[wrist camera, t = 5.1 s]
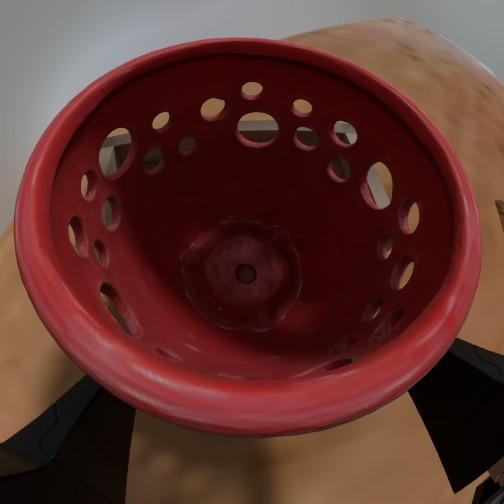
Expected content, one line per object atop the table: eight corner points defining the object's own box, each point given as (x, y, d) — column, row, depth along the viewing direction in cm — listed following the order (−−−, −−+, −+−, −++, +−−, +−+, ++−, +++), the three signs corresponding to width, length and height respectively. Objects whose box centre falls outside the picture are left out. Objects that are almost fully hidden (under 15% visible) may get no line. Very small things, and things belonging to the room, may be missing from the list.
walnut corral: (385, 253, 18) (402, 237, 15) (91, 278, 16) (73, 264, 13) (344, 144, 22) (352, 124, 20) (112, 158, 20) (103, 138, 18)
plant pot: (350, 383, 14) (525, 376, 3) (129, 373, 14) (-42, 353, 3) (337, 198, 19) (404, 60, 8) (160, 187, 19) (118, 37, 8)
